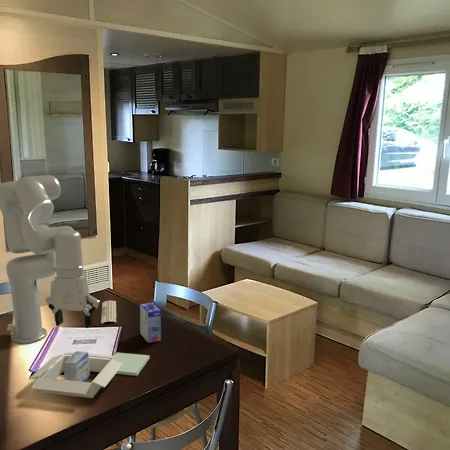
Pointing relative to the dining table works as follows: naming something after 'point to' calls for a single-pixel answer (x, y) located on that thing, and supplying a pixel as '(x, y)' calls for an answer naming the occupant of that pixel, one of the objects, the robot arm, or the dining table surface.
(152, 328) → the ink cartridge box
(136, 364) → the plate
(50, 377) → the carton
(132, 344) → the dining table surface
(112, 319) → the newspaper
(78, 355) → the medicine box
